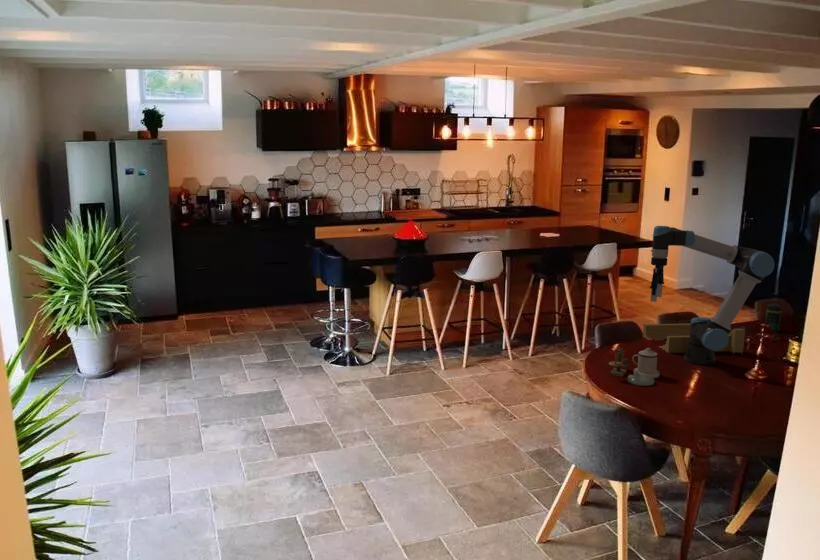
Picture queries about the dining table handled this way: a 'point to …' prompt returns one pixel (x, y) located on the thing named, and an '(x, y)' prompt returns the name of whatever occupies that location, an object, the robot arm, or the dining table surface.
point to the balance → (619, 364)
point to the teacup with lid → (646, 361)
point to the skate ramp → (687, 337)
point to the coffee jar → (773, 316)
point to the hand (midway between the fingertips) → (656, 299)
